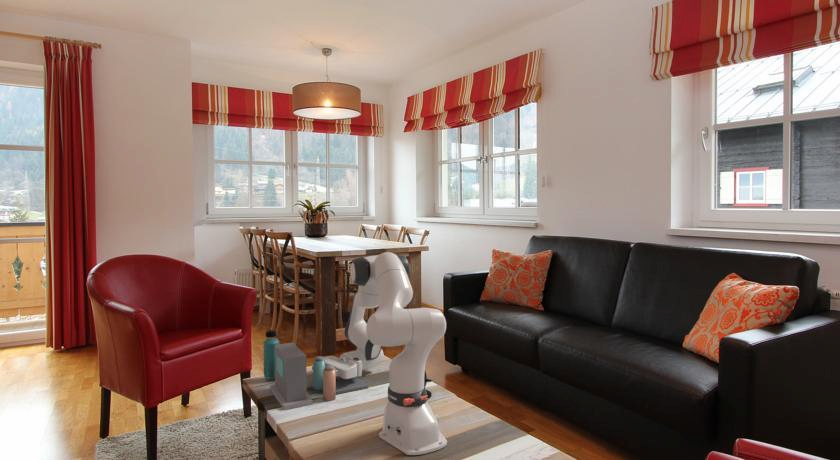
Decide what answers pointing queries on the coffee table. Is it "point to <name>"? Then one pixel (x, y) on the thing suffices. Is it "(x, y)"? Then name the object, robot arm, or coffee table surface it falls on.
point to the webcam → (425, 385)
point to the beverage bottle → (270, 354)
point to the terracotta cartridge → (329, 383)
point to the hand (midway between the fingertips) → (319, 371)
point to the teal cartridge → (318, 372)
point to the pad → (349, 385)
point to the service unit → (290, 377)
